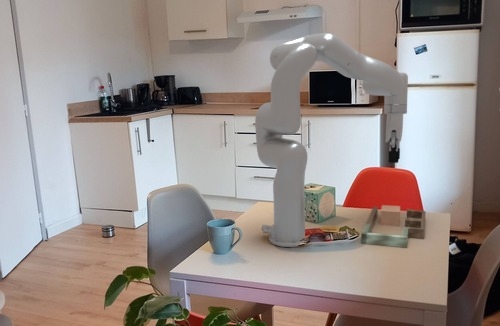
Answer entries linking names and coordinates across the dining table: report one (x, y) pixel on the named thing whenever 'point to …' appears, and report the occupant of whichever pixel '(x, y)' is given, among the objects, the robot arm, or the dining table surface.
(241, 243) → the dining table surface
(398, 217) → the block
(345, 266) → the dining table surface
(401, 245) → the box
